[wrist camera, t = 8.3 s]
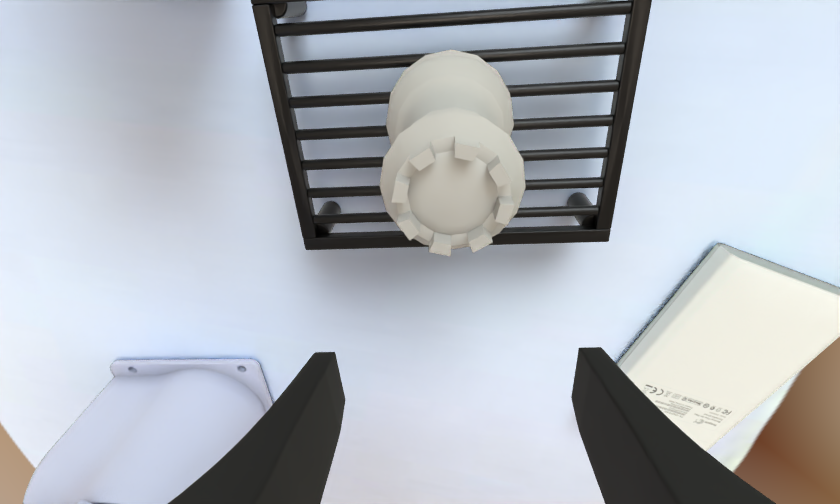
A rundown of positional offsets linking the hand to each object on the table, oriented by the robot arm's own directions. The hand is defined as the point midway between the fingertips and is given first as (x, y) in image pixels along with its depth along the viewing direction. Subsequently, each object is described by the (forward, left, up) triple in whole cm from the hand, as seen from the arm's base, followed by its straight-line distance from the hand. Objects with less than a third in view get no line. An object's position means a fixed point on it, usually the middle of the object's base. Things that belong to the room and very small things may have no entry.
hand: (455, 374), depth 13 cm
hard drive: (+14, -8, -10) cm, 19 cm away
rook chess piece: (0, +6, -7) cm, 9 cm away
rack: (0, +6, -10) cm, 11 cm away
